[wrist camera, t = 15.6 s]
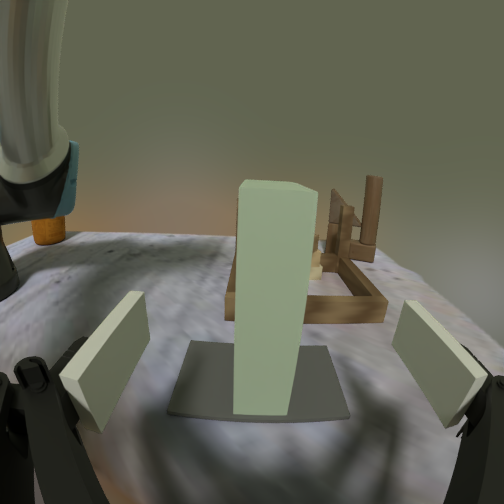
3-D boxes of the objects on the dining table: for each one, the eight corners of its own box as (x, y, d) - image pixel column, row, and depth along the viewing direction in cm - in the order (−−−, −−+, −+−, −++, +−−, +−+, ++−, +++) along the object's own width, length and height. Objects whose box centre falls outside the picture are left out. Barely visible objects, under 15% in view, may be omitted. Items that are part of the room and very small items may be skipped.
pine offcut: (268, 282, 45) (269, 267, 45) (264, 274, 49) (265, 260, 48) (320, 281, 47) (322, 266, 46) (313, 273, 50) (315, 260, 49)
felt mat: (167, 414, 18) (167, 410, 18) (191, 343, 28) (190, 340, 28) (349, 418, 18) (350, 415, 18) (325, 348, 28) (326, 345, 28)
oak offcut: (271, 267, 45) (272, 251, 44) (267, 259, 48) (268, 244, 47) (319, 267, 46) (321, 251, 45) (312, 260, 49) (314, 245, 48)
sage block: (233, 413, 19) (238, 187, 14) (239, 346, 27) (245, 179, 23) (286, 415, 19) (318, 192, 14) (279, 348, 27) (294, 182, 23)
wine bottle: (53, 235, 66) (51, 130, 57) (73, 238, 64) (71, 123, 55) (28, 244, 57) (24, 130, 48) (46, 248, 55) (42, 122, 46)
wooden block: (327, 251, 63) (334, 171, 58) (373, 258, 59) (383, 177, 54) (324, 255, 60) (332, 170, 55) (373, 263, 56) (384, 177, 51)
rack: (224, 320, 33) (226, 218, 29) (235, 264, 52) (238, 198, 48) (383, 322, 33) (402, 230, 29) (342, 269, 52) (350, 205, 48)
